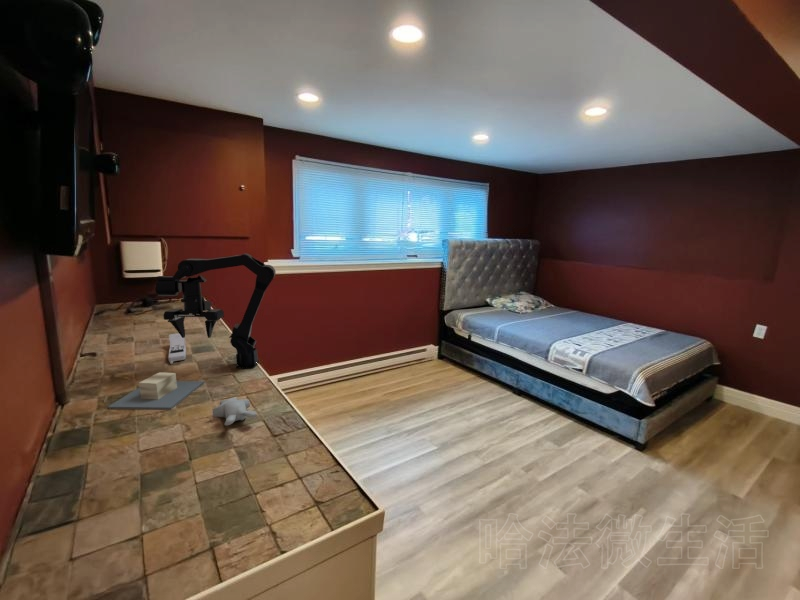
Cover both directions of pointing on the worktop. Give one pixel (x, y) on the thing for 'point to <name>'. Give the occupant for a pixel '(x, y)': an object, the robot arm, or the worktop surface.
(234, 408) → the bunny figurine
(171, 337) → the mobile phone
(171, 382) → the card box
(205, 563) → the worktop surface
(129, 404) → the rubber mat
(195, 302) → the robot arm
